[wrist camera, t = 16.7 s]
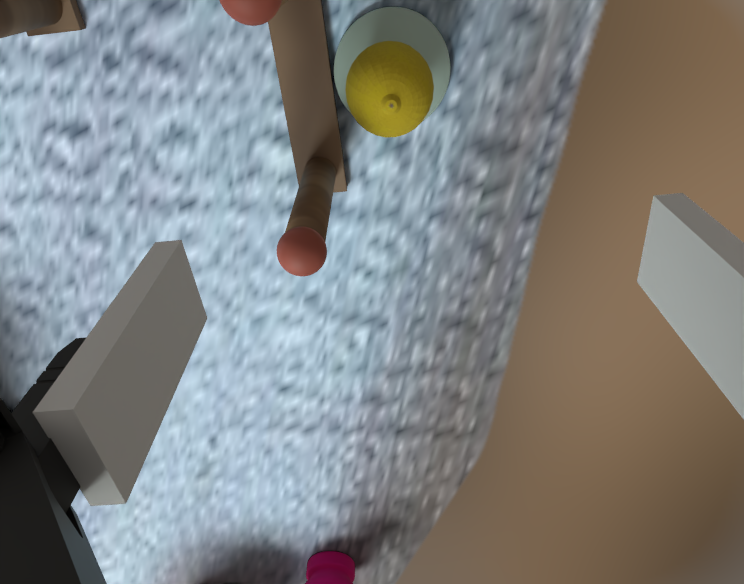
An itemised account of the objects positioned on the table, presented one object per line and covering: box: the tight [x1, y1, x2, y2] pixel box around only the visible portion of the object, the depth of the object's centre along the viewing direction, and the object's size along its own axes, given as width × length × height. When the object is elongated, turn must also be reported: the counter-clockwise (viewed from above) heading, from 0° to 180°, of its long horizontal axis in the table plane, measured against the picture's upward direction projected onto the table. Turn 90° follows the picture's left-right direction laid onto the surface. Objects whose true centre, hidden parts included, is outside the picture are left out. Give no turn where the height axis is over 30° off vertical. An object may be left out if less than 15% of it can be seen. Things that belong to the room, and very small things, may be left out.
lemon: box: [345, 41, 434, 137], centre depth 34 cm, size 6×6×8 cm
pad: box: [334, 6, 450, 121], centre depth 37 cm, size 8×8×1 cm
